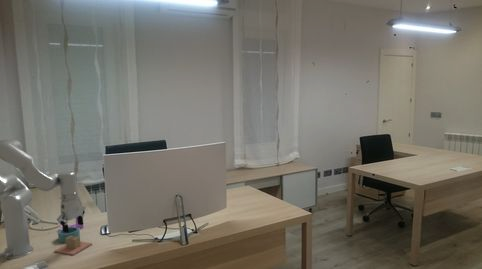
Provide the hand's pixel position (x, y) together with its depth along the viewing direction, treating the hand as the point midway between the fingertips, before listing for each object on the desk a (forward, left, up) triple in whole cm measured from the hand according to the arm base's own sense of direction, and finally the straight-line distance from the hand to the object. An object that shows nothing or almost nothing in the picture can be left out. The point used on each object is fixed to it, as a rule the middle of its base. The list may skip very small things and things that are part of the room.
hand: (73, 228), depth 175 cm
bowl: (+9, +13, -11) cm, 19 cm away
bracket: (+21, +24, -12) cm, 34 cm away
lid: (0, +1, -11) cm, 11 cm away
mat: (0, +1, -11) cm, 11 cm away
